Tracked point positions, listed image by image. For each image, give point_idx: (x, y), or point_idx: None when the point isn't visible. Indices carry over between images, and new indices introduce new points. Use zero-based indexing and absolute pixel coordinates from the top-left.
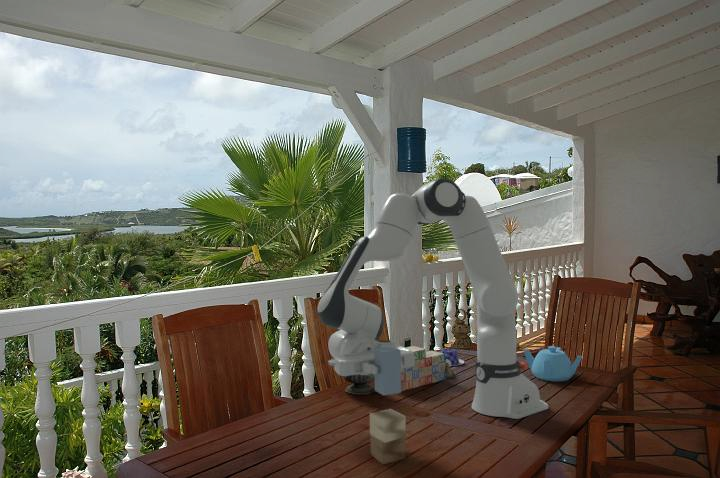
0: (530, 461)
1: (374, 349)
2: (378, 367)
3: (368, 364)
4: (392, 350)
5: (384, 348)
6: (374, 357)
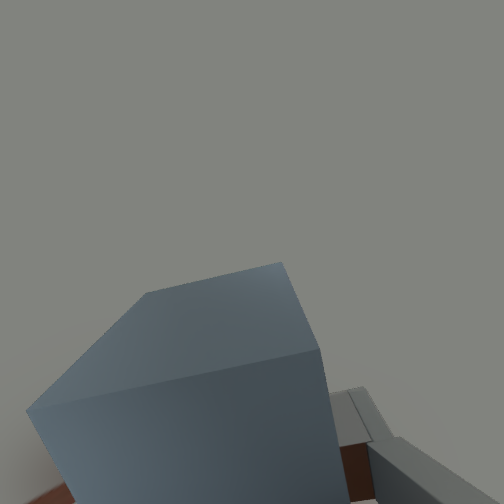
0: (57, 490)
1: (322, 367)
2: (331, 394)
3: (437, 466)
4: (200, 284)
5: (207, 324)
6: (342, 467)
